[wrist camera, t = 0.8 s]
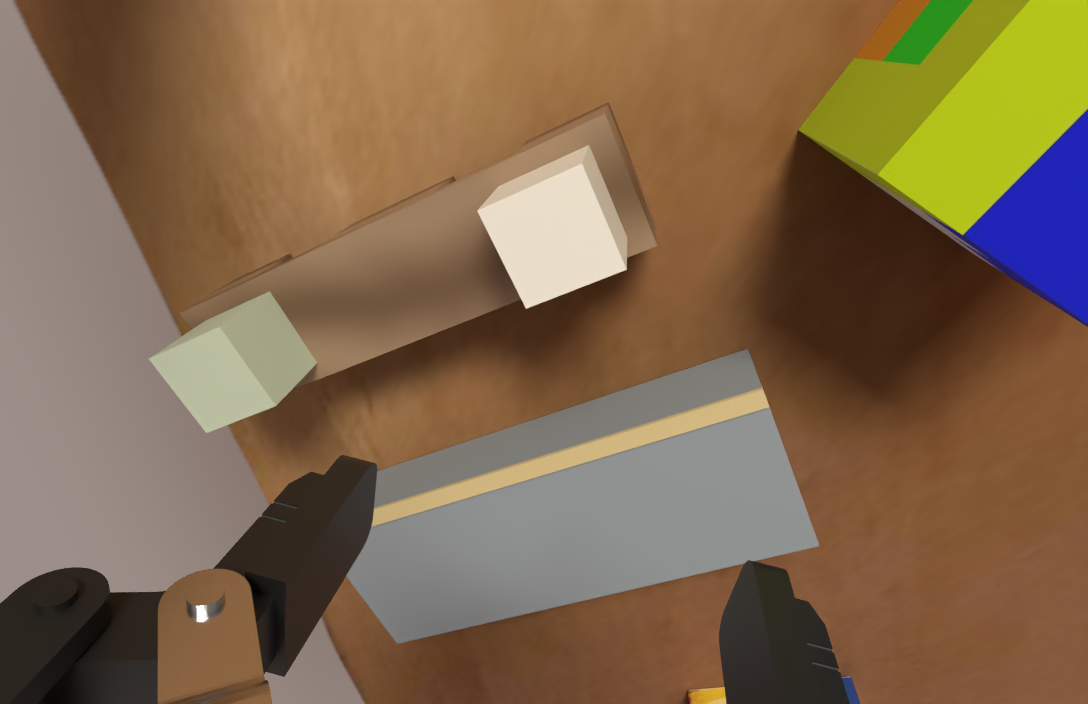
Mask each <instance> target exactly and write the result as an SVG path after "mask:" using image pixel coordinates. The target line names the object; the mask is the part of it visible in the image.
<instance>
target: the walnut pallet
mask: <svg viewBox="0 0 1088 704" xmlns="http://www.w3.org/2000/svg"><path fill="white" fill-rule="evenodd" d="M588 145H589V146H590V149H591V151H592V153H593V156H594V158H595V161H596V163H597V166H598V168H599V170H600V173H601V175H602V178H603V180H604V183H605V185H606V187H607V190H608V192H609V195H610V197H611V199H612V202H613V204H614V207H615V209H616V212H617V214H618V216H619V219H620V221H621V224H622V226H623V229H624V231H625V233H626V236H627V258H628V257H630V256H633V255H635V254H638V253H640V252H643V251H646V250H648V249H651V248H653V247H656V246H657V240H656V232H655V224H654V217H653V215H652V212H651V210H650V207H649V205H648V202H647V199H646V197H645V194H644V192H643V189H642V187H641V184H640V181H639V179H638V176H637V174H636V171H635V169H634V166H633V164H632V161H631V158H630V156H629V153H628V151H627V148H626V146H625V143H624V140H623V138H622V135H621V133H620V130H619V128H618V125H617V123H616V120H615V117H614V115H613V112H612V110H611V107H610V105H609V103H607V104H604V105H602V106H600V107H598V108H596V109H594V110H592V111H590V112H588V113H585V114H583V115H581V116H579V117H577V118H575V119H573V120H571V121H569V122H567V123H564V124H562V125H560V126H558V127H556V128H554V129H552V130H550V131H548V132H545V133H543V134H541V135H539V136H537V137H535V138H533V139H531V140H529V141H527V142H526V143H525V144H524V145H523V146H522V147H521V148H520V149H519V150H518V152H517V153H515V154H512V155H510V156H508V157H506V158H504V159H502V160H500V161H498V162H495V163H493V164H491V165H489V166H487V167H485V168H483V169H481V170H479V171H476V172H474V173H472V174H470V175H468V176H466V177H464V178H462V179H459V180H457V181H456V180H455V178H454V176H453V177H451V178H449V179H446V180H444V181H442V182H440V183H438V184H436V185H434V186H432V187H430V188H428V189H425V190H423V191H421V192H419V193H417V194H415V195H413V196H411V197H409V198H406V199H404V200H402V201H400V202H398V203H396V204H394V205H392V206H390V207H387V208H385V209H383V210H381V211H379V212H377V213H375V214H373V215H371V216H369V217H366V218H364V219H362V220H360V221H358V222H356V223H354V224H352V225H350V226H349V227H347V228H346V229H344V230H343V231H341V232H340V233H338V234H337V235H335V236H334V237H332V238H331V239H330V240H328V241H327V242H325V243H324V244H322V245H319V246H317V247H315V248H313V249H311V250H309V251H307V252H305V253H302V254H300V255H298V256H296V257H294V258H292V257H291V255H290V254H288V255H286V256H284V257H282V258H280V259H278V260H276V261H274V262H272V263H270V264H267V265H265V266H263V267H261V268H259V269H257V270H255V271H253V272H251V273H248V274H246V275H244V276H242V277H240V278H238V279H236V280H234V281H232V282H230V283H228V284H227V285H225V286H224V287H222V288H220V289H219V290H217V291H215V292H214V293H212V294H211V295H209V296H207V297H206V298H204V299H203V300H201V301H199V302H198V303H196V304H194V305H193V306H191V307H190V308H188V309H186V310H185V311H183V312H181V313H180V315H181V317H182V318H183V319H184V321H185V322H186V323H187V325H188V326H189V328H190V329H191V330H192V329H194V328H195V327H197V326H198V325H200V324H201V323H203V322H204V321H206V320H208V319H210V318H212V317H215V316H217V315H219V314H221V313H223V312H225V311H228V310H230V309H232V308H234V307H236V306H239V305H241V304H243V303H245V302H247V301H249V300H252V299H254V298H256V297H258V296H260V295H263V294H265V293H267V292H269V291H270V292H271V294H272V295H273V297H274V298H275V300H276V301H277V303H278V304H279V306H280V308H281V309H282V311H283V312H284V314H285V315H286V317H287V318H288V320H289V321H290V323H291V324H292V326H293V327H294V329H295V330H296V332H297V333H298V335H299V336H300V338H301V339H302V341H303V342H304V344H305V345H306V347H307V348H308V350H309V351H310V353H311V354H312V356H313V357H314V359H315V360H316V362H317V364H316V365H315V366H314V367H313V368H312V369H311V370H310V371H309V372H308V373H307V374H306V375H305V376H304V377H303V378H302V379H301V380H300V382H299V383H298V384H297V385H296V386H295V387H294V388H293V389H296V388H298V387H301V386H303V385H306V384H308V383H311V382H314V381H316V380H319V379H321V378H324V377H326V376H329V375H331V374H334V373H336V372H339V371H341V370H344V369H346V368H349V367H352V366H354V365H357V364H359V363H362V362H364V361H367V360H369V359H372V358H374V357H377V356H379V355H382V354H384V353H387V352H390V351H392V350H395V349H397V348H400V347H402V346H405V345H407V344H410V343H412V342H415V341H417V340H420V339H422V338H425V337H428V336H430V335H433V334H435V333H438V332H440V331H443V330H445V329H448V328H450V327H453V326H455V325H458V324H461V323H463V322H466V321H468V320H471V319H473V318H476V317H478V316H481V315H483V314H486V313H488V312H491V311H493V310H496V309H499V308H501V307H504V306H506V305H509V304H511V303H514V302H516V301H519V300H521V298H520V296H519V294H518V292H517V290H516V288H515V286H514V284H513V282H512V280H511V278H510V276H509V274H508V272H507V270H506V268H505V266H504V264H503V262H502V260H501V258H500V256H499V254H498V252H497V250H496V248H495V246H494V244H493V242H492V240H491V238H490V236H489V234H488V232H487V230H486V228H485V226H484V224H483V222H482V220H481V218H480V216H479V214H478V212H477V210H478V209H479V208H480V207H481V206H482V205H483V203H484V202H485V201H486V200H487V199H488V198H489V197H490V195H491V194H492V193H493V192H494V191H495V190H496V189H497V187H498V186H500V185H503V184H505V183H507V182H509V181H511V180H514V179H516V178H518V177H520V176H522V175H524V174H527V173H529V172H531V171H533V170H535V169H538V168H540V167H542V166H544V165H546V164H548V163H551V162H553V161H555V160H557V159H559V158H562V157H564V156H566V155H568V154H570V153H572V152H575V151H577V150H579V149H581V148H583V147H586V146H588ZM293 389H292V390H293Z"/></svg>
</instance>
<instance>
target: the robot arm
mask: <svg viewBox="0 0 1088 704" xmlns="http://www.w3.org/2000/svg"><path fill="white" fill-rule="evenodd" d="M376 479H377V465H376V464H375V463H372V462H368V461H364V460H360V459H357V458H353V457H349V456H345V455H342V456H340V457H339V458H338V459H337V460H336V461H335V463H334V464H333V465H332V466H331V467H330V469H329V470H328V471H327V472H326V473H325V475H321V474H317V473H313V472H310V473H308V474H306V475H304V476H302V477H301V478H299V479H297V480H295V481H293V482H291V483H290V484H288V485H287V487H286V488H285V489H284V490H283V491H282V492H281V493H280V494H279V496H278V497H277V498H276V499H275V500H274V503H273V504H272V503H271V505H270V506H269V507H268V508H267V509H266V510H265V511H264V512H263V514H262V517H259V518H258V519H257V520H256V521H255V523H254V524H253V525H252V526H251V527H250V528H249V529H248V530H247V532H246V533H245V534H244V535H243V536H242V537H241V538H240V540H239V541H238V542H237V543H236V544H235V545H234V546H233V547H232V548H231V550H230V551H229V552H228V553H227V554H226V555H225V556H224V557H223V559H222V560H221V561H220V562H219V563H218V564H217V565H216V566H215V567H214V568H213V569H208V570H202V571H198V572H195V573H192V574H190V575H187V576H185V577H183V578H182V579H180V580H178V581H177V582H175V583H174V584H173V585H172V586H171V587H170V588H168V589H167V591H163V592H126V593H125V592H121V593H120V592H119V593H118V592H117V593H110V590H109V584H108V581H107V579H106V578H105V577H104V576H103V575H102V574H101V573H99V572H97V571H95V570H92V569H88V568H64V569H60V570H55V571H51V572H48V573H45V574H43V575H40V576H38V577H36V578H34V579H32V580H30V581H28V582H27V583H25V584H23V585H22V586H20V587H19V588H18V589H17V590H15V591H14V592H13V593H12V594H11V595H9V596H8V598H6V599H5V600H4V601H3V602H2V603H0V704H272V700H271V694H270V689H269V684H268V681H267V680H266V681H265V679H264V674H265V672H269V673H273V674H277V675H280V676H283V677H284V676H285V675H286V673H287V672H288V670H289V668H290V667H291V665H292V663H293V662H294V660H295V659H296V657H297V655H298V654H299V652H300V650H301V649H302V647H303V645H304V644H305V642H306V641H307V639H308V637H309V636H310V634H311V632H312V631H313V629H314V628H315V626H316V624H317V623H318V621H319V619H320V618H321V616H322V614H323V613H324V611H325V610H326V608H327V606H328V605H329V603H330V601H331V600H332V598H333V596H334V595H335V593H336V592H337V590H338V588H339V587H340V585H341V583H342V582H343V580H344V578H345V577H346V575H347V574H348V572H349V570H350V569H351V567H352V565H353V564H354V562H355V561H356V559H357V557H358V556H359V554H360V552H361V551H362V549H363V547H364V545H365V543H366V541H367V539H368V536H369V533H370V530H371V526H372V521H373V512H374V501H375V490H376ZM719 645H720V654H721V662H722V670H723V679H724V687H725V695H726V704H850V702H849V699H848V696H847V693H846V690H845V686H844V683H843V680H842V677H841V674H840V672H838V668H839V667H838V664H837V661H836V658H835V655H834V653H833V652H832V645H831V642H830V639H829V636H828V633H827V630H826V626H825V624H824V623H823V621H822V620H821V619H820V617H819V616H818V614H817V613H816V612H815V610H814V609H813V608H812V606H811V605H810V603H809V602H808V601H804V600H800V599H796V598H795V597H794V593H793V590H792V586H791V583H790V579H789V575H788V573H787V571H786V570H785V569H782V568H778V567H774V566H770V565H766V564H762V563H759V562H755V561H751V560H748V561H746V563H745V564H744V566H743V568H742V570H741V572H740V575H739V577H738V579H737V582H736V584H735V586H734V589H733V591H732V593H731V596H730V598H729V600H728V603H727V605H726V607H725V610H724V612H723V616H722V619H721V624H720V632H719Z"/></svg>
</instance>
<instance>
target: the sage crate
mask: <svg viewBox="0 0 1088 704" xmlns="http://www.w3.org/2000/svg"><path fill="white" fill-rule="evenodd" d="M149 360H150V361H151V363H152V364H153V365H154V367H155V368H156V369H157V370H158V371H159V373H160V374H161V376H162V377H163V378H164V379H165V381H166V382H167V383H168V385H169V386H170V387H171V388H172V390H173V391H174V392H175V393H176V395H177V396H178V397H179V399H180V400H181V401H182V403H183V404H184V405H185V406H186V408H187V409H188V410H189V412H190V413H191V414H192V415H193V417H194V418H195V419H196V420H197V422H198V423H199V424H200V426H201V427H202V428H203V429H204V431H205V432H206V433H208V432H210V431H213V430H216V429H218V428H221V427H223V426H226V425H229V424H231V423H234V422H236V421H239V420H241V419H244V418H247V417H249V416H252V415H254V414H257V413H259V412H262V411H265V410H267V409H270V408H272V407H275V406H277V404H278V403H279V402H280V401H281V400H282V399H283V398H284V397H285V396H286V395H287V394H288V393H289V392H290V391H291V390H292V389H293V388H294V387H295V386H296V385H297V384H298V383H299V382H300V380H301V379H302V378H303V377H304V376H305V375H306V374H307V373H308V372H309V371H310V370H311V369H312V368H313V367H314V366H315V365H316V364H317V362H316V360H315V359H314V357H313V356H312V354H311V353H310V351H309V350H308V348H307V347H306V345H305V344H304V342H303V341H302V339H301V338H300V336H299V335H298V333H297V332H296V330H295V329H294V327H293V326H292V324H291V323H290V321H289V320H288V318H287V317H286V315H285V314H284V312H283V311H282V309H281V308H280V306H279V304H278V303H277V301H276V300H275V298H274V297H273V295H272V294H271V292H270V291H269V292H267V293H265V294H263V295H260V296H258V297H256V298H254V299H252V300H249V301H247V302H245V303H243V304H241V305H239V306H236V307H234V308H232V309H230V310H228V311H225V312H223V313H221V314H219V315H217V316H215V317H212V318H210V319H208V320H206V321H204V322H203V323H201V324H200V325H198V326H197V327H195V328H194V329H192V330H191V331H189V332H188V333H186V334H185V335H183V336H182V337H180V338H179V339H177V340H176V341H174V342H173V343H171V344H170V345H168V346H167V347H166V348H164V349H162V350H161V351H160V352H158V353H157V354H155V355H153V356H152V357H151V358H149Z"/></svg>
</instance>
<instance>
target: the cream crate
mask: <svg viewBox="0 0 1088 704" xmlns="http://www.w3.org/2000/svg"><path fill="white" fill-rule="evenodd" d="M477 212H478V214H479V216H480V218H481V220H482V222H483V224H484V226H485V228H486V230H487V232H488V234H489V236H490V238H491V240H492V242H493V244H494V246H495V248H496V250H497V252H498V254H499V256H500V258H501V260H502V262H503V264H504V266H505V268H506V270H507V272H508V274H509V276H510V278H511V280H512V282H513V284H514V286H515V288H516V290H517V292H518V294H519V296H520V298H521V300H522V302H523V304H524V306H525V308H526V309H527V308H529V307H532V306H535V305H537V304H540V303H542V302H545V301H547V300H550V299H553V298H555V297H558V296H560V295H563V294H565V293H568V292H571V291H573V290H576V289H578V288H581V287H583V286H586V285H589V284H591V283H594V282H596V281H599V280H601V279H604V278H607V277H609V276H612V275H614V274H617V273H619V272H622V271H625V270H627V236H626V233H625V231H624V229H623V226H622V224H621V221H620V219H619V216H618V214H617V212H616V209H615V207H614V204H613V202H612V199H611V197H610V195H609V192H608V190H607V187H606V185H605V183H604V180H603V178H602V175H601V173H600V170H599V168H598V166H597V163H596V161H595V158H594V156H593V153H592V151H591V149H590V146H589V145H588V146H586V147H583V148H581V149H579V150H577V151H575V152H572V153H570V154H568V155H566V156H564V157H562V158H559V159H557V160H555V161H553V162H551V163H548V164H546V165H544V166H542V167H540V168H538V169H535V170H533V171H531V172H529V173H527V174H524V175H522V176H520V177H518V178H516V179H514V180H511V181H509V182H507V183H505V184H503V185H500V186H498V187H497V189H496V190H495V191H494V192H493V193H492V194H491V195H490V197H489V198H488V199H487V200H486V201H485V202H484V203H483V205H482V206H481V207H480V208H479V209H478V210H477Z"/></svg>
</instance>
